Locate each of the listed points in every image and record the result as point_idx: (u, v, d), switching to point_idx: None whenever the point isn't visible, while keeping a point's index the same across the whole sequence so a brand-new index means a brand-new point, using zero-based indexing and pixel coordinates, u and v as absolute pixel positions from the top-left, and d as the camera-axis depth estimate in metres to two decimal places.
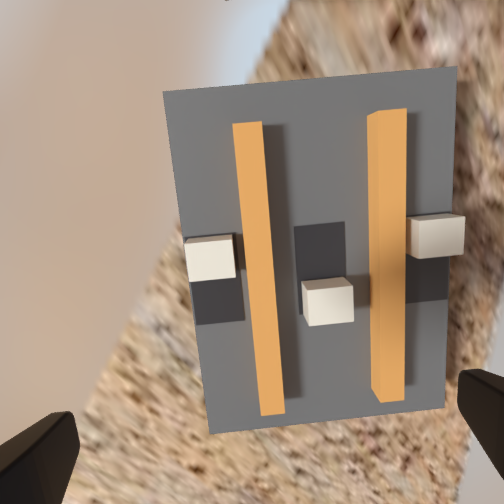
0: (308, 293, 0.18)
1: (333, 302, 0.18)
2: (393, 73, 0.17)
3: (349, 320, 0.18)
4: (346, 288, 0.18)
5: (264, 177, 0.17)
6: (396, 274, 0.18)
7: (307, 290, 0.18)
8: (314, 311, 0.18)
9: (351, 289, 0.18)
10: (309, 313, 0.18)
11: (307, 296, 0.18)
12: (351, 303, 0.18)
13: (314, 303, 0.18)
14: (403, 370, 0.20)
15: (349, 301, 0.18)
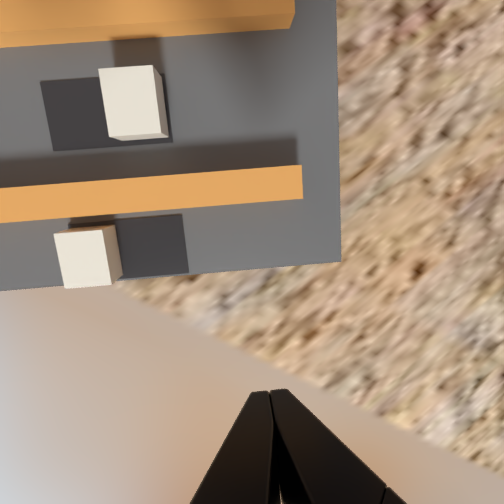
0: (112, 134, 0.13)
1: (125, 97, 0.13)
2: None
3: (151, 72, 0.13)
4: (103, 78, 0.13)
5: None
6: None
7: (110, 135, 0.13)
8: (139, 126, 0.13)
9: (104, 70, 0.13)
10: (142, 132, 0.13)
11: (119, 135, 0.13)
12: (124, 70, 0.13)
13: (127, 125, 0.13)
14: None
15: (122, 73, 0.13)
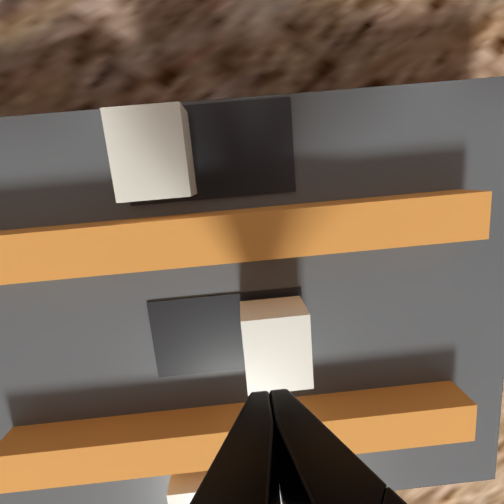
0: None
1: (272, 351, 0.10)
2: None
3: (307, 322, 0.10)
4: (245, 332, 0.10)
5: (68, 452, 0.11)
6: (224, 232, 0.10)
7: (248, 392, 0.10)
8: (286, 382, 0.10)
9: (247, 323, 0.10)
10: (290, 389, 0.10)
11: None
12: (274, 321, 0.10)
13: (271, 383, 0.10)
14: (426, 198, 0.10)
15: (270, 325, 0.10)
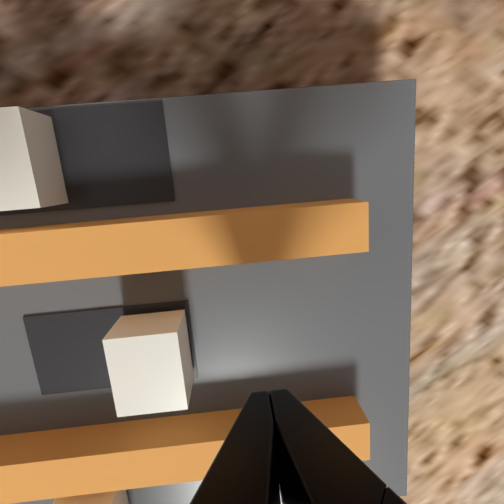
0: (122, 415, 0.10)
1: (139, 371, 0.09)
2: None
3: (175, 340, 0.09)
4: (108, 351, 0.09)
5: None
6: (84, 245, 0.09)
7: (119, 414, 0.10)
8: (158, 403, 0.10)
9: (110, 341, 0.09)
10: (162, 409, 0.10)
11: (131, 412, 0.10)
12: (139, 339, 0.09)
13: (142, 403, 0.10)
14: (298, 209, 0.09)
15: (135, 343, 0.09)
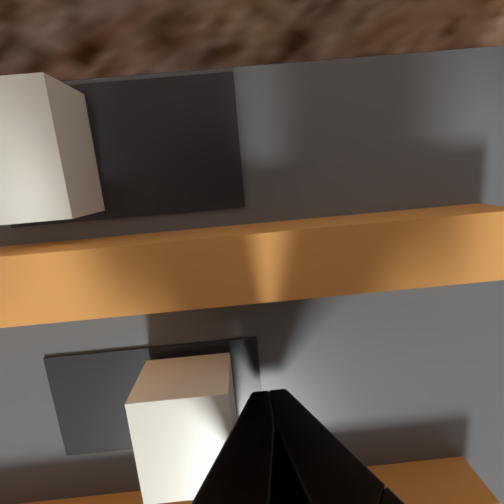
0: (150, 502, 0.07)
1: (174, 445, 0.07)
2: None
3: (224, 404, 0.07)
4: (133, 419, 0.07)
5: None
6: (130, 269, 0.07)
7: (146, 499, 0.07)
8: (199, 487, 0.07)
9: (135, 406, 0.07)
10: None
11: (162, 497, 0.07)
12: (175, 403, 0.07)
13: (177, 487, 0.07)
14: (429, 219, 0.07)
15: (170, 408, 0.07)
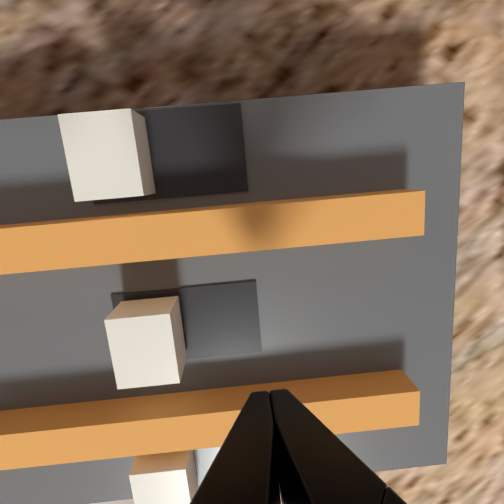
0: (122, 387, 0.11)
1: (136, 348, 0.11)
2: None
3: (167, 321, 0.11)
4: (109, 330, 0.11)
5: (36, 434, 0.12)
6: (177, 228, 0.10)
7: (119, 386, 0.11)
8: (153, 377, 0.11)
9: (111, 321, 0.10)
10: (157, 383, 0.11)
11: (129, 385, 0.11)
12: (136, 320, 0.10)
13: (139, 377, 0.11)
14: (363, 197, 0.11)
15: (133, 323, 0.11)
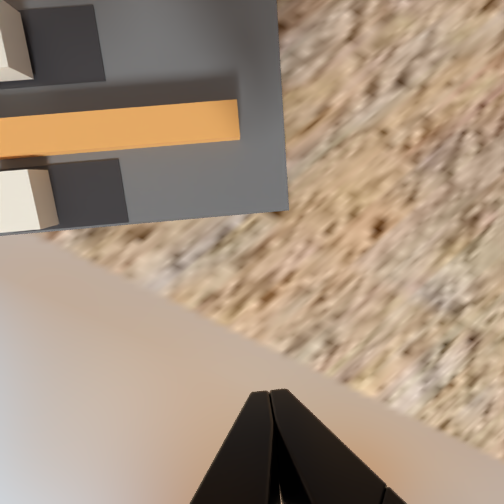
0: None
1: None
2: None
3: None
4: None
5: None
6: None
7: None
8: None
9: None
10: None
11: None
12: None
13: None
14: None
15: None
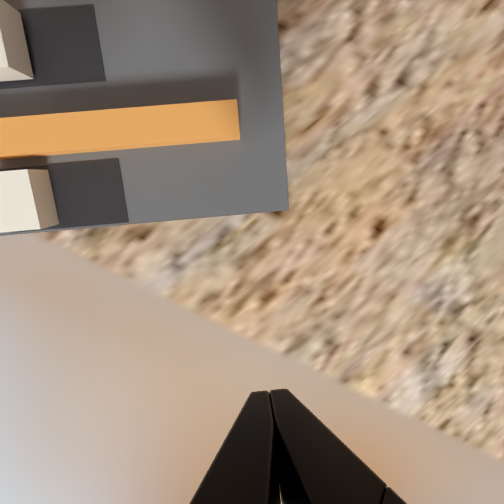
0: None
1: None
2: None
3: None
4: None
5: None
6: None
7: None
8: None
9: None
10: None
11: None
12: None
13: None
14: None
15: None
